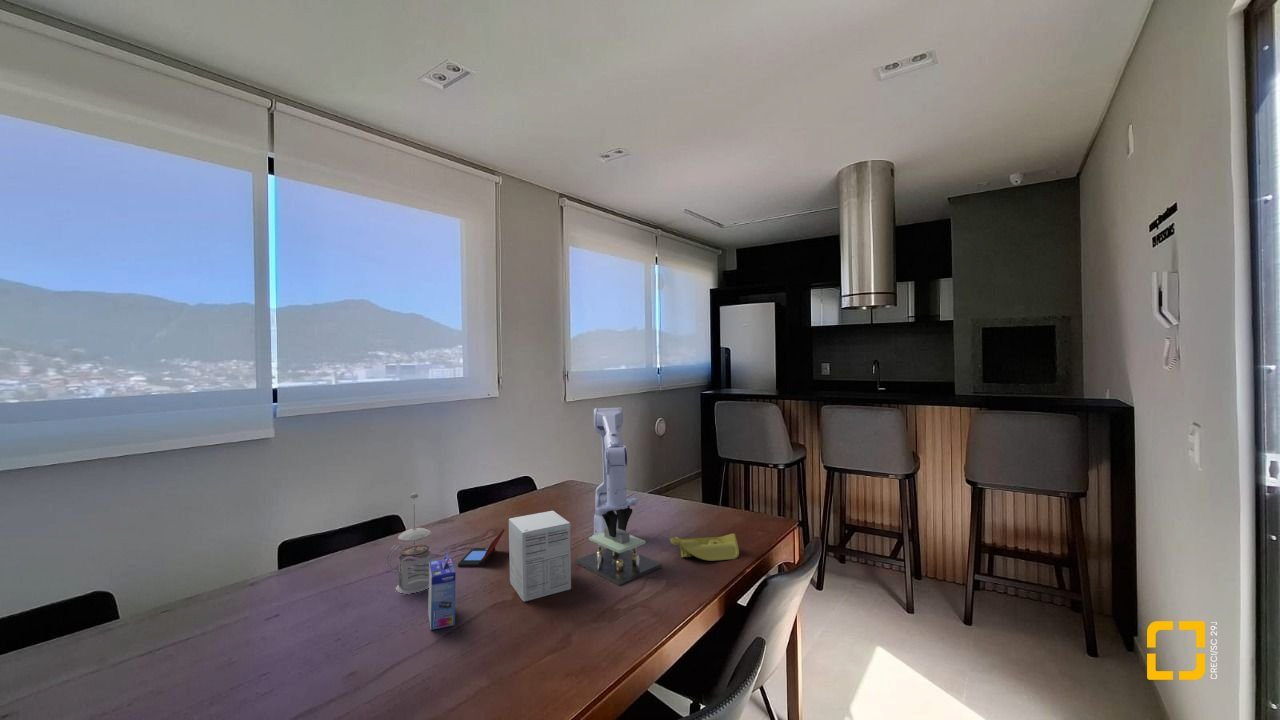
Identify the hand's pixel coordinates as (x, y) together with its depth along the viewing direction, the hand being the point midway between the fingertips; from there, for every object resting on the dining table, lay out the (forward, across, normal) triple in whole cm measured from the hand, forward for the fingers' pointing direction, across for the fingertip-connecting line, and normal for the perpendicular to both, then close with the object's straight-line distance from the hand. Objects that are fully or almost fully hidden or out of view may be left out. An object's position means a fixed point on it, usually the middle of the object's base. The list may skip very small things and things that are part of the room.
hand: (617, 534), depth 138 cm
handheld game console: (+9, -26, +33) cm, 43 cm away
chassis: (+9, 0, 0) cm, 9 cm away
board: (+2, 0, 0) cm, 2 cm away
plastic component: (+9, +24, -13) cm, 28 cm away
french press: (+9, -48, +29) cm, 57 cm away
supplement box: (+9, -23, +5) cm, 25 cm away
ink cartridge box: (+9, -48, +7) cm, 49 cm away
